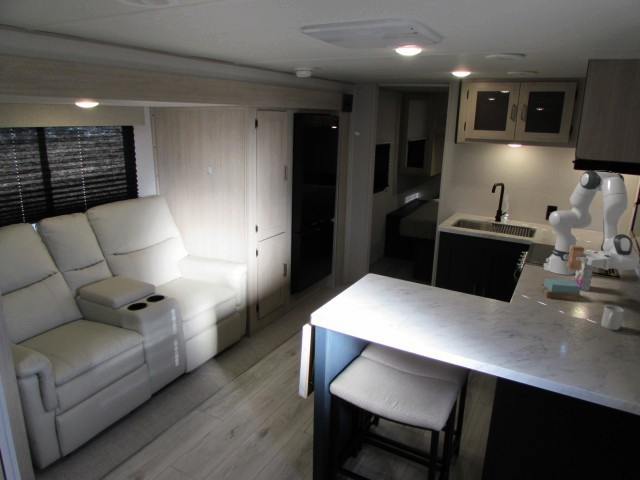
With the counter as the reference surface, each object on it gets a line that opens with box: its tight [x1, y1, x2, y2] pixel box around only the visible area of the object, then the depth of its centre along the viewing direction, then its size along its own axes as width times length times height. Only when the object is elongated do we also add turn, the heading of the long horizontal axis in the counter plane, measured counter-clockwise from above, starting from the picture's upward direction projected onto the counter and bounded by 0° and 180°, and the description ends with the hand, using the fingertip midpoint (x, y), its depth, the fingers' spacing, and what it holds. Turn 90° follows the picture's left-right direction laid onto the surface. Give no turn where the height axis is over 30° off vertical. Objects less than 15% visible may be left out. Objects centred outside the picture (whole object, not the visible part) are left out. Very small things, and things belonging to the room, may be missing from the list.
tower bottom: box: [540, 283, 582, 303], centre depth 243 cm, size 13×16×4 cm
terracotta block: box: [567, 245, 585, 271], centre depth 238 cm, size 5×5×12 cm
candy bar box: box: [573, 262, 595, 292], centre depth 256 cm, size 11×5×16 cm, turn 168°
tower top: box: [543, 277, 581, 294], centre depth 242 cm, size 10×14×4 cm
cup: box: [600, 304, 625, 331], centre depth 204 cm, size 7×10×9 cm
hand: (573, 256), depth 238 cm, fingers closed on terracotta block, 5 cm apart
